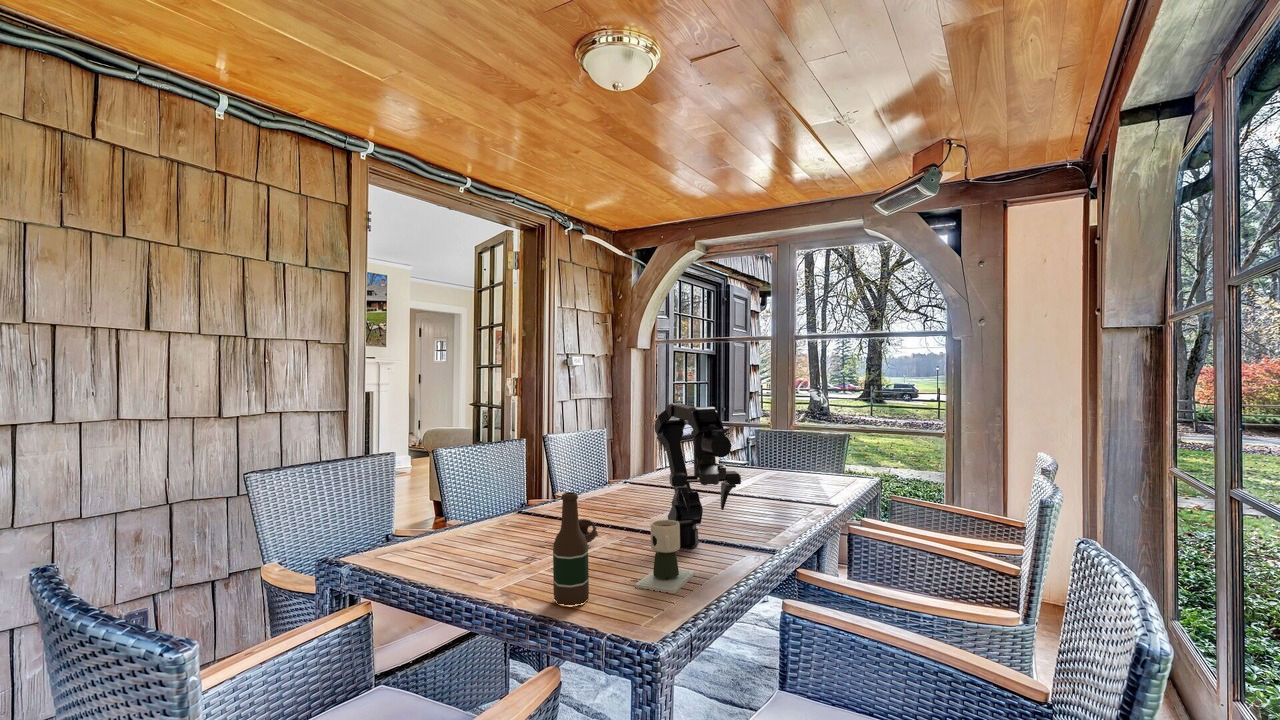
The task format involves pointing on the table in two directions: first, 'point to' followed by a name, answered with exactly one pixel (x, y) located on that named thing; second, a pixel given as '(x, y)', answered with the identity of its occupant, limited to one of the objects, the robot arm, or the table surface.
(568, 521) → the beer bottle
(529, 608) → the table surface
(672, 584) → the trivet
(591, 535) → the pottery mug
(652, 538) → the character mug
